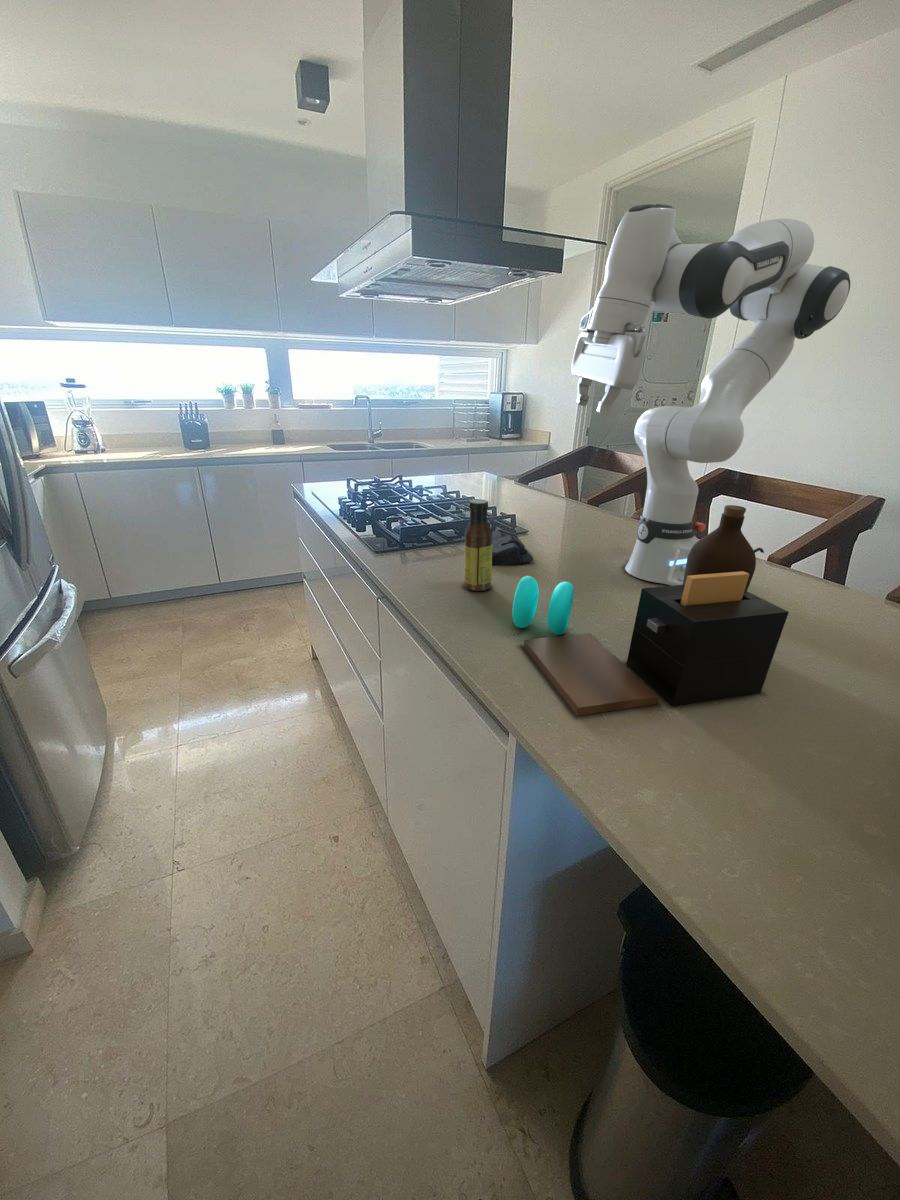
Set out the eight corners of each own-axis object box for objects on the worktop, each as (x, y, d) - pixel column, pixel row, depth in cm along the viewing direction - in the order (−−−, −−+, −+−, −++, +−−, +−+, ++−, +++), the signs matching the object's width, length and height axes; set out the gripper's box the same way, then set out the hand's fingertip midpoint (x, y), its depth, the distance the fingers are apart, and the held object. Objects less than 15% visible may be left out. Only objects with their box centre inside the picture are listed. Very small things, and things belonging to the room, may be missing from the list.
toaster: (705, 654, 86) (726, 580, 80) (760, 692, 75) (789, 611, 70) (617, 665, 82) (632, 588, 76) (662, 707, 71) (684, 623, 65)
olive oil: (704, 658, 85) (744, 517, 74) (657, 631, 93) (686, 502, 83) (744, 646, 89) (787, 511, 79) (695, 622, 98) (728, 498, 87)
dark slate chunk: (521, 540, 145) (523, 524, 143) (534, 566, 125) (536, 548, 123) (470, 539, 145) (471, 523, 143) (474, 564, 125) (475, 547, 123)
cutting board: (588, 639, 90) (590, 632, 89) (656, 704, 72) (658, 695, 71) (523, 647, 87) (524, 639, 86) (576, 716, 69) (578, 707, 68)
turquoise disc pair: (562, 645, 87) (570, 594, 83) (508, 635, 90) (513, 585, 86) (570, 622, 96) (577, 575, 92) (520, 613, 99) (525, 567, 95)
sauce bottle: (491, 582, 114) (496, 498, 106) (490, 593, 108) (496, 505, 100) (463, 581, 114) (466, 496, 106) (461, 591, 109) (464, 503, 100)
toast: (724, 635, 78) (743, 570, 73) (730, 638, 77) (749, 573, 72) (670, 641, 75) (687, 575, 71) (675, 645, 74) (692, 578, 70)
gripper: (666, 328, 74) (633, 422, 80) (607, 325, 91) (584, 403, 98) (629, 320, 72) (599, 416, 79) (577, 318, 90) (555, 398, 96)
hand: (590, 409), depth 88 cm, fingers open, 8 cm apart
